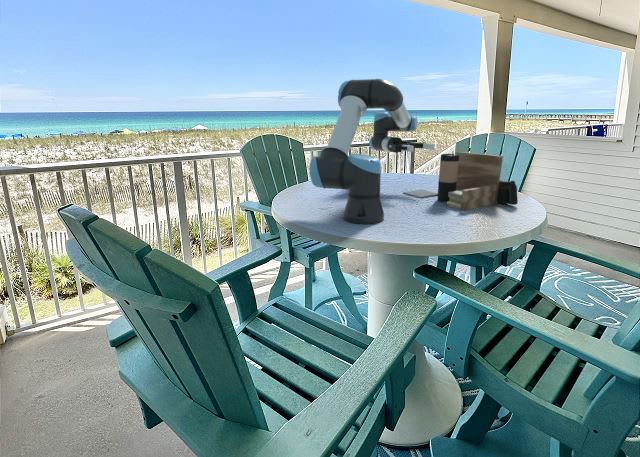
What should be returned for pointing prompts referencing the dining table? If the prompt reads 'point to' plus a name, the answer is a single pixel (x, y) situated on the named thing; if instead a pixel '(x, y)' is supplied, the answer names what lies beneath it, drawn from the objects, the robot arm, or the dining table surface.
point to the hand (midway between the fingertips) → (423, 147)
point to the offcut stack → (455, 199)
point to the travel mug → (447, 176)
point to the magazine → (507, 193)
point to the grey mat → (420, 193)
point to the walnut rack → (478, 179)
